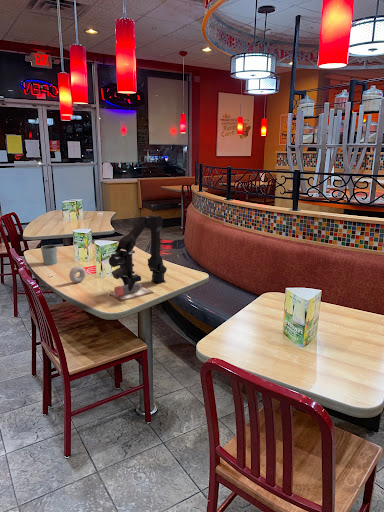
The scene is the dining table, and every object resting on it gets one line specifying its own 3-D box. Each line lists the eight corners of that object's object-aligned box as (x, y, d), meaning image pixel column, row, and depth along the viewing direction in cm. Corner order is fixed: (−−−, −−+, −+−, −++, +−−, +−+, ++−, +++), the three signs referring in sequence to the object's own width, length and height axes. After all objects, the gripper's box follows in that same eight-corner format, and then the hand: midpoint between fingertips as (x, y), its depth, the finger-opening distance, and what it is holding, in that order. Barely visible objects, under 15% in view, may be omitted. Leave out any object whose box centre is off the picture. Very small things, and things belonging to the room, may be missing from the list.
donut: (71, 285, 220) (70, 268, 217) (69, 283, 222) (67, 267, 220) (87, 281, 227) (86, 265, 224) (84, 279, 229) (83, 264, 226)
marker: (139, 287, 212) (138, 281, 211) (142, 289, 209) (142, 283, 208) (114, 293, 203) (114, 287, 202) (118, 296, 200) (117, 289, 199)
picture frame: (141, 286, 218) (141, 285, 218) (153, 292, 209) (153, 291, 209) (109, 294, 207) (109, 293, 206) (121, 301, 197) (121, 300, 197)
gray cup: (52, 260, 267) (50, 244, 264) (61, 263, 262) (59, 246, 258) (39, 264, 260) (37, 247, 256) (48, 266, 254) (46, 249, 251)
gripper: (105, 261, 204) (107, 288, 208) (121, 269, 190) (123, 298, 194) (123, 257, 210) (125, 284, 215) (141, 265, 196) (142, 293, 201)
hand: (128, 290), depth 206 cm, fingers closed on marker, 3 cm apart
